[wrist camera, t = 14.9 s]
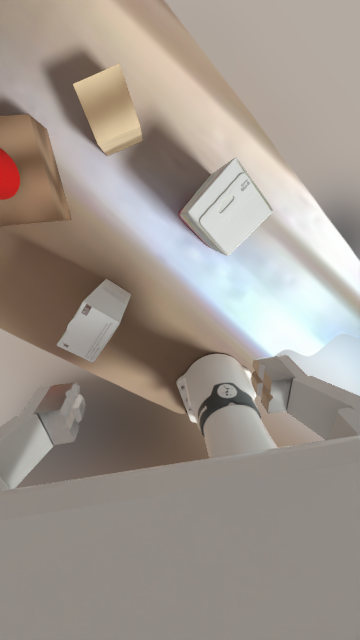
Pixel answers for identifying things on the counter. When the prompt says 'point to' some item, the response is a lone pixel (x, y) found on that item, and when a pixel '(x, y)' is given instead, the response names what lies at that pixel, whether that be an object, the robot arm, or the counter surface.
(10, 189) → the beverage can
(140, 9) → the counter surface
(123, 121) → the oak block
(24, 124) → the walnut block
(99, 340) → the skincare box
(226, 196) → the ink box
